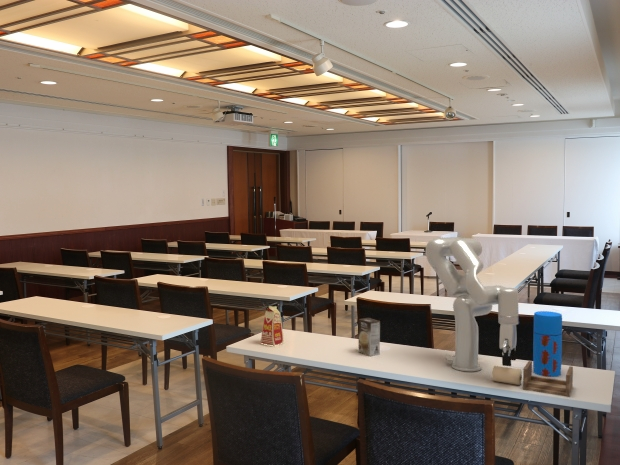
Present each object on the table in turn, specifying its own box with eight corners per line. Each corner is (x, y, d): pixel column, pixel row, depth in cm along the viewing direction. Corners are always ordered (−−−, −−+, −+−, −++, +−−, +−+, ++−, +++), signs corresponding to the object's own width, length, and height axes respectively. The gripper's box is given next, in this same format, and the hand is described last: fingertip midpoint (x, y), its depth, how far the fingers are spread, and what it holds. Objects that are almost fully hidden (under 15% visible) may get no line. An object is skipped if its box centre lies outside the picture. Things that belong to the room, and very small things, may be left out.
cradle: (523, 389, 211) (523, 368, 210) (528, 380, 221) (528, 360, 220) (569, 396, 202) (569, 375, 202) (572, 387, 213) (572, 366, 212)
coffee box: (357, 352, 264) (357, 319, 263) (367, 350, 267) (367, 317, 267) (370, 356, 256) (370, 322, 255) (380, 354, 260) (380, 320, 259)
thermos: (537, 367, 238) (538, 310, 237) (564, 372, 231) (565, 313, 230) (529, 373, 230) (530, 314, 228) (556, 378, 223) (557, 317, 221)
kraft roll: (491, 382, 219) (491, 368, 219) (494, 378, 224) (494, 363, 224) (519, 387, 214) (520, 372, 213) (522, 382, 219) (522, 367, 218)
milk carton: (274, 347, 274) (273, 307, 273) (259, 344, 279) (259, 305, 278) (285, 343, 282) (284, 304, 281) (270, 340, 287) (270, 302, 286)
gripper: (503, 315, 227) (503, 356, 227) (493, 322, 212) (494, 367, 212) (522, 316, 223) (523, 358, 223) (514, 324, 208) (515, 369, 208)
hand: (509, 362), depth 218 cm, fingers open, 9 cm apart
